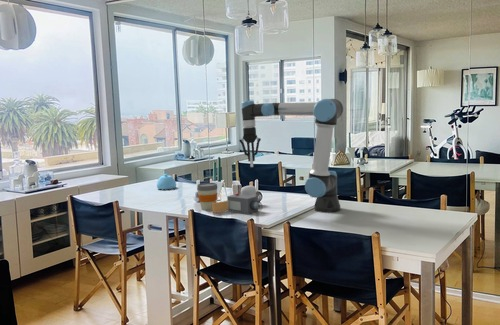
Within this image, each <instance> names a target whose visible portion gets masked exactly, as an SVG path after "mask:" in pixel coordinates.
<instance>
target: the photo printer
mask: <svg viewBox="0 0 500 325" xmlns="http://www.w3.org/2000/svg"><path fill="white" fill-rule="evenodd" d="M240 194H245V195H253V196H257V188H256V186H254V185H246V186H243V187H241V188H240Z"/></svg>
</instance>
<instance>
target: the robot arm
mask: <svg viewBox="0 0 500 325" xmlns="http://www.w3.org/2000/svg"><path fill="white" fill-rule="evenodd" d="M343 113H344V105H343V103H342V102H341V101H340V100H338V99H337V98H323V99H321V100H319V101H317V102H263V103H255V101H254V100H248V101H247V100H246V101H245V100H244V101H242V102H241V115H242V127H243V129H242V133H243V134H242V138H240V139H239V142H240V144H241V147H242V150H243V153H244V156H247V161H248V162H249V164H250V165H249V166H250V168H254V162H255V161H256V158H255V156H256V155H258V152H259V146H260V142H261V140H262V138H260V137H258V135H257V128H256V118H257V117H258V118H259V117H272V116H303V117H304V116H311V117H312V116H313V117H314V124H315V125H316V127H317V128H316V133H315V134H316V136H315V143H314V144H315V145H314V152H313V160H312V161H313V162H312V168H311V169H310V170H309V172H308V178H307V179H306V181H305V183H304V189H305V192H306V193H307V194H308V195H309V196H310V197H311V198H315V202H314V211H315V212H319V213H336V212H340V211H341V203H340V201H339V198H338V174H337V172H336V171H335V170H329V167H330V166H329V164H330V156H331V150H332V141H333V139H332V138H333V132H334V128H335V127H336V126H337V125H338V124H337V122H338V119H339V118H340V117H342V115H343ZM244 142H245V143H244ZM255 142H256V147H255ZM245 144H246V146H245ZM250 144H251V145H250ZM250 146H251V147H250ZM246 148H247V149H246Z"/></svg>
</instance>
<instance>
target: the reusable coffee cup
mask: <svg viewBox="0 0 500 325" xmlns="http://www.w3.org/2000/svg"><path fill="white" fill-rule="evenodd" d="M196 186H197V187H196V189H197V192H198V194H197V196H198V201H199V204H200V208H201V210H203V211H210V210H211V211H213V209H212V203H217V200H218V183H217V182H203V183H198V184H197V185H196Z"/></svg>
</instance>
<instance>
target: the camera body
mask: <svg viewBox="0 0 500 325" xmlns="http://www.w3.org/2000/svg"><path fill="white" fill-rule="evenodd" d="M227 200H229V210H227V211H228V212H233V213H237V214H239V213H240V214H245V215H246V214H247V215H249V214H253V213H256V212H259V206H260V204H259V198H258V195H256V196H253V195H245V194H241V193H239V192H235V193H234V194H231V195H227Z"/></svg>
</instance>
